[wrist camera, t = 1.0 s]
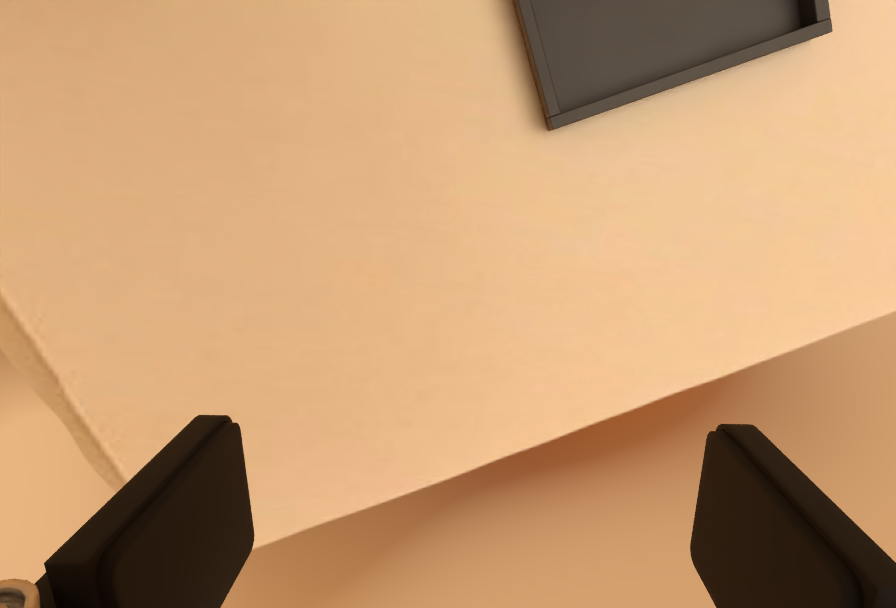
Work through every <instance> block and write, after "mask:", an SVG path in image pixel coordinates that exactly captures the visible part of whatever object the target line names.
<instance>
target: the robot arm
mask: <svg viewBox="0 0 896 608" xmlns="http://www.w3.org/2000/svg"><path fill="white" fill-rule="evenodd" d="M253 542H254V528H253V521H252V513H251V505H250V498H249V490H248V483H247V475H246V468H245V460H244V452H243V445H242V437H241V430H240V426H239V425H238V424H237V423H232V420H231V418H230V417H229V416H227V415H198V416H197V417H195V418H194V419H193V420H192V421H191V422H190V423H189V424H188V425H187V426H186V427H185V428H184V429H183V430H182V431H181V432H180V433H179V434H178V435H177V436H175V437H174V438H173V439H172V440H171V441H170V442H169V443H168V444H167V445H166V446H165V447H164V448H163V449H162V450H161V451H160V452H159V453H158V454H157V455H156V456H155V457H154V458H153V459H152V460H151V461H150V462H148V463H147V464H146V465H145V466H144V467H143V468H142V469H141V470H140V471H139V472H138V473H137V474H136V475H135V476H134V477H133V478H132V479H131V480H130V481H129V482H128V483H127V484H126V485H125V486H124V487H123V488H122V489H120V490H119V491H118V492H117V493H116V494H115V495H114V496H113V497H112V498H111V499H110V500H109V501H108V502H107V503H106V504H105V505H104V506H103V507H102V508H101V509H100V510H99V511H98V512H97V513H96V514H95V515H93V517H91V519H89V520H88V521H87V522H86V523H85V524H84V525H83V526H82V527H81V528H80V529H79V530H78V531H77V532H76V533H75V534H74V535H73V536H72V537H71V538H70V539H69V540H68V541H67V542H65V544H63V545H62V546H61V547H60V548H59V549H58V550H57V551H56V552H55V553H54V554H53V555H52V556H51V557H50V558H49V559H48V560H47V561H46V562H45V563H44V565H45V568H46V573H45V574H44V575H43V576H42V577H41V578H40V579H39V580H38V581H37V582H36V583H35V584H33V583H31V582H29V581H28V580H19V579H9V580H2V581H0V608H220V607H221V605H222V604H223V602H224V600H225V598H226V596H227V594H228V593H229V591H230V589H231V587H232V585H233V583H234V581H235V580H236V578H237V576H238V574H239V573H240V571H241V569H242V567H243V565H244V564H245V562H246V560H247V558H248V556H249V554H250V552H251V550H252V547H253ZM690 550H691V558H692V561H693V564H694V566H695V568H696V570H697V572H698V574H699V576H700V578H701V580H702V581H703V583H704V585H705V587H706V589H707V591H708V593H709V594H710V596H711V598H712V600H713V602H714V604H715V606H716V608H896V563H895V562H894V561H893V560H892V559H891V558H890V557H889V556H888V555H887V554H886V553H885V552H884V551H883V550H882V549H881V548H880V547H879V546H878V545H877V544H876V543H875V542H874V541H873V540H872V539H871V538H870V537H869V536H868V535H867V534H865V533H864V532H863V531H862V530H861V529H860V528H859V527H858V526H857V525H856V524H855V523H854V522H853V521H852V520H851V519H850V518H849V517H848V516H847V515H846V514H845V513H844V512H843V511H842V510H841V509H840V508H839V507H838V506H837V505H836V504H835V503H833V502H832V500H831V499H830V498H828V497H827V496H826V495H825V494H824V493H823V492H822V491H821V490H820V489H819V488H818V487H817V486H816V485H815V484H814V483H813V482H812V481H811V480H810V479H809V478H808V477H807V476H806V475H805V474H804V473H803V472H802V471H801V470H800V469H798V467H796V466H795V464H793V463H792V462H791V461H790V460H789V459H788V458H787V457H786V456H785V455H784V454H783V453H782V452H781V451H780V450H779V449H778V448H777V447H776V446H775V445H774V444H773V443H772V442H771V441H770V440H769V439H768V438H767V437H766V436H765V435H764V434H763V433H762V432H761V431H759V430H758V429H757V428H756V427H755V426H754V425H748V424H747V425H746V424H721V425H719V426H718V427H717V429H716V431H711V432H709V434H708V435H707V439H706V446H705V452H704V459H703V465H702V472H701V479H700V485H699V492H698V498H697V505H696V512H695V518H694V525H693V531H692V537H691V545H690Z"/></svg>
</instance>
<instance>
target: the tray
mask: <svg viewBox="0 0 896 608" xmlns="http://www.w3.org/2000/svg"><path fill="white" fill-rule="evenodd" d="M513 4H514V7H515V11H516V15H517V18H518V22H519V25H520V29H521V33H522V36H523V40H524V44H525V47H526V51H527V54H528V58H529V62H530V65H531V69H532V72H533V76H534V80H535V83H536V87H537V91H538V94H539V98H540V101H541V105H542V109H543V112H544V116H545V120H546V123H547V127H548V130H549V131H551V130H554V129H557V128H560V127H563V126H565V125H568V124H571V123H574V122H577V121H580V120H583V119H585V118H588V117H591V116H594V115H597V114H600V113H602V112H605V111H608V110H611V109H614V108H617V107H620V106H622V105H625V104H628V103H631V102H634V101H637V100H639V99H642V98H645V97H648V96H651V95H654V94H657V93H659V92H662V91H665V90H668V89H671V88H674V87H677V86H679V85H682V84H685V83H688V82H691V81H694V80H696V79H699V78H702V77H705V76H708V75H711V74H714V73H716V72H719V71H722V70H725V69H728V68H731V67H733V66H736V65H739V64H742V63H745V62H748V61H751V60H753V59H756V58H759V57H762V56H765V55H768V54H770V53H773V52H776V51H779V50H782V49H785V48H788V47H790V46H793V45H796V44H799V43H802V42H805V41H807V40H810V39H813V38H816V37H819V36H822V35H824V34H827V33H830V32H832V24H831V18H830V11H829V4H828V0H513Z"/></svg>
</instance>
